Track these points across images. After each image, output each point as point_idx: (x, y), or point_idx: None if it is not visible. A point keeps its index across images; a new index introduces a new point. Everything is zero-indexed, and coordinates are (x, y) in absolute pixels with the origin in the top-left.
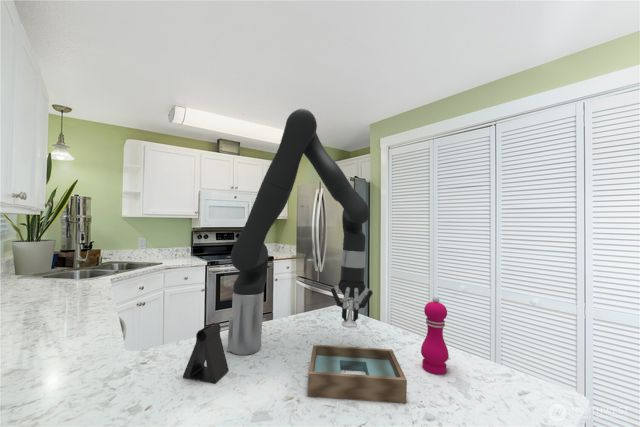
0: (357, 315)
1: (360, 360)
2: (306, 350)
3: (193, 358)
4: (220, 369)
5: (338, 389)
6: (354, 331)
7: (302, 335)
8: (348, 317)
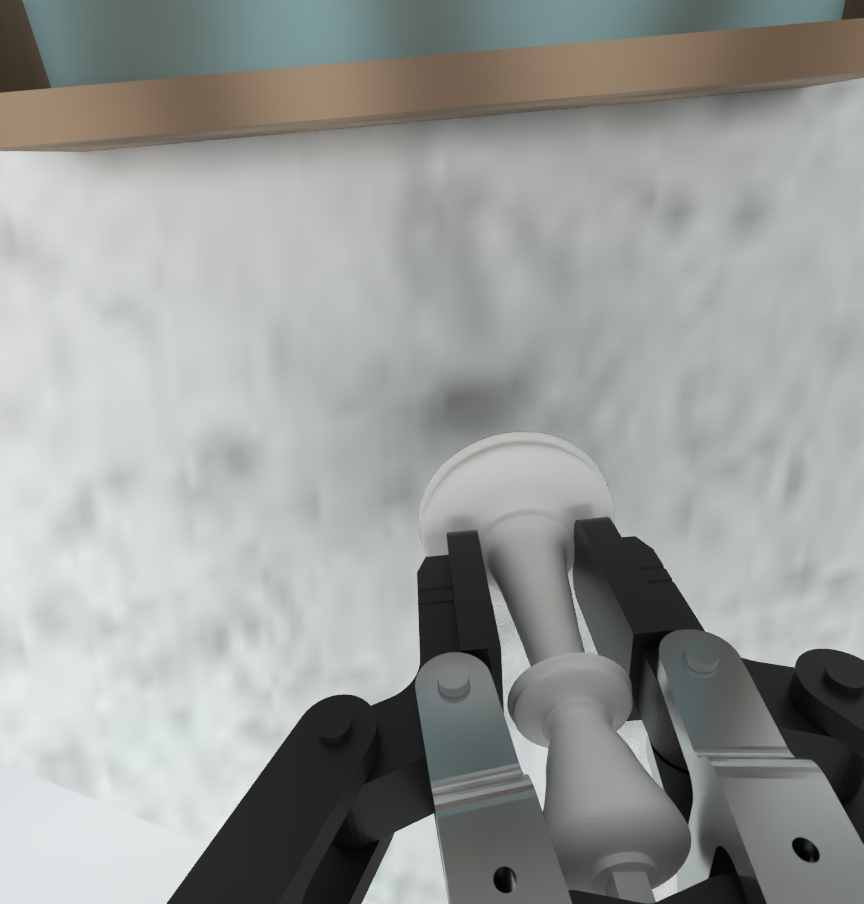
0: (428, 599)
1: (362, 7)
2: (821, 324)
3: None
4: None
5: None
6: None
7: (813, 567)
8: (555, 563)
